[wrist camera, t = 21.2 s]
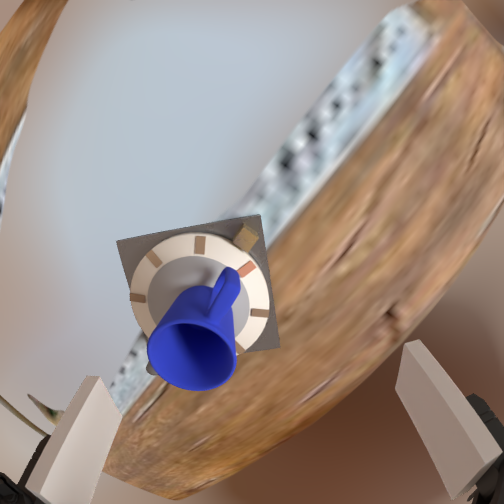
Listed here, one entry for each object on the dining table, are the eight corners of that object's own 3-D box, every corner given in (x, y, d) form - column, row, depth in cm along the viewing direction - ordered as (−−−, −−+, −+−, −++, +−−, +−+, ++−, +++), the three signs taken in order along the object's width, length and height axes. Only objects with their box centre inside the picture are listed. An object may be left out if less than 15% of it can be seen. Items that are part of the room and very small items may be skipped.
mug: (269, 270, 33) (278, 313, 23) (218, 347, 36) (211, 402, 26) (204, 234, 32) (186, 264, 22) (160, 317, 34) (135, 366, 25)
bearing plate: (118, 240, 34) (108, 246, 31) (260, 214, 34) (261, 219, 31) (156, 358, 39) (151, 370, 37) (279, 345, 39) (282, 357, 36)
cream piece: (133, 339, 38) (114, 373, 30) (140, 220, 33) (113, 235, 25) (252, 363, 39) (254, 402, 31) (282, 247, 34) (292, 270, 27)
